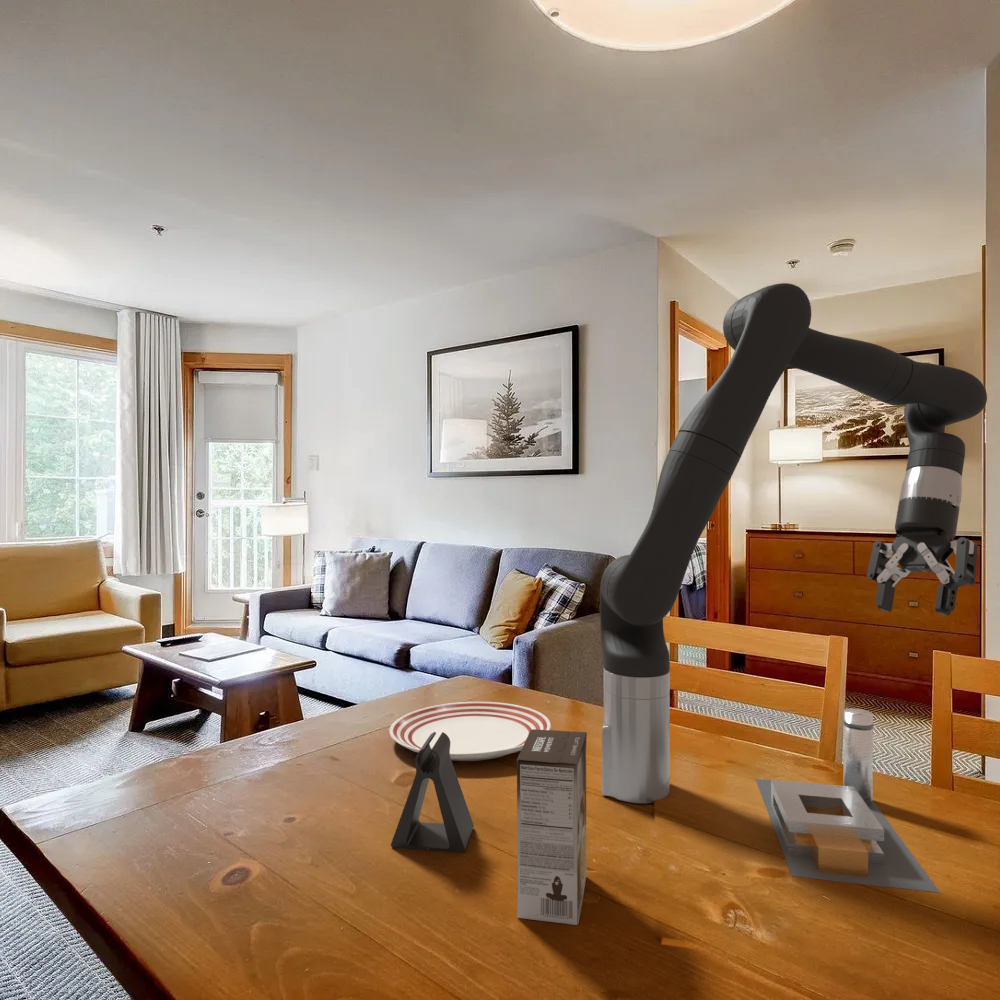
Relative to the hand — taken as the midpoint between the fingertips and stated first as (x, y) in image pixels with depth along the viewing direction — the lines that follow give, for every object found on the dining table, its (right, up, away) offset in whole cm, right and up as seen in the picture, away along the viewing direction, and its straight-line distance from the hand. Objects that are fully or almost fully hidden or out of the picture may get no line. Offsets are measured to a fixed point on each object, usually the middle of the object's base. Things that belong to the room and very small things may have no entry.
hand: (912, 612), depth 95 cm
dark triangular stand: (-66, -26, -12) cm, 72 cm away
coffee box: (-52, -26, -24) cm, 63 cm away
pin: (-9, -25, -3) cm, 27 cm away
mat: (-16, -26, -10) cm, 32 cm away
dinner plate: (-63, -26, +21) cm, 71 cm away
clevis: (-18, -25, -13) cm, 34 cm away
